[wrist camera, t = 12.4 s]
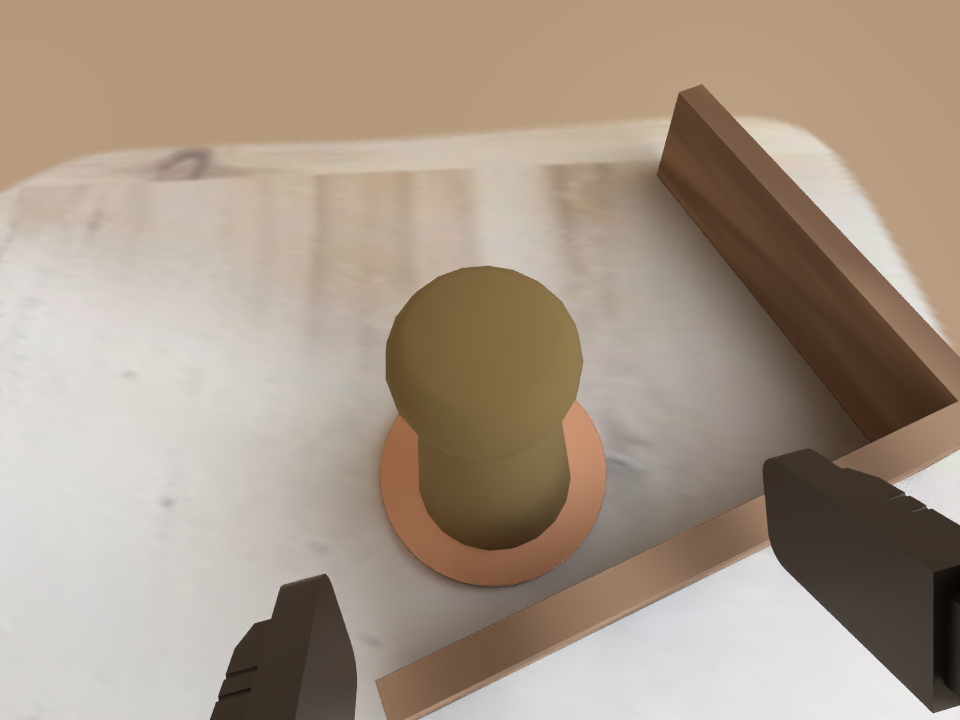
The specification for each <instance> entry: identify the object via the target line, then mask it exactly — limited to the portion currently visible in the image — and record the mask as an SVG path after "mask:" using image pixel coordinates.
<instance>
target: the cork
mask: <svg viewBox="0 0 960 720" xmlns="http://www.w3.org/2000/svg"><path fill="white" fill-rule="evenodd" d="M582 365H583V357H582V352H581V346H580V341H579V335H578V332H577V328H576V325H575V323H574V321H573V320H572V318H571V316H570V315H569V313H568V311H567V309H566V308H565V306H564V304H563V303H562V301H560V300H559V299H558V298H557V297H556V296H555V295H554V294H553V293H551V292H550V291H549V290H548V289H547V288H546V287H545V286H543V285H542V284H541V283H539V282H538V281H536V280H534V279H532V278H530V277H527V276H525V275H523V274H521V273H519V272H517V271H514V270H510V269H504V268H498V267H492V266H481V267H470V268H461V269H459V270H456V271H453V272H450V273H447V274H445V275H442V276H439V277H437V278H436V279H434V280H433V281H431V282H430V283H429V284H427V285H426V286H424V287H423V288H422V289H420V290H419V291H417V292H416V293H415V294H414V295H413V296H412V297H411V298H410V300H409V301H408V302H407V304H406V305H405V306H404V307H403V309H402V310H401V311H400V313H399V314H398V315H397V316H396V318H395V321H394V324H393V326H392V329H391V332H390V335H389V338H388V340H387V345H386V381H387V384H388V386H389V389H390V392H391V394H392V397H393V399H394V402H395V405H396V407H397V409H398V412H399V414H400V415H401V417H402V418H403V419H404V420H405V421H406V422H407V423H408V425H409V426H410V427H411V428H412V429H413V430H414V432H415V433H416V434H417V435H418V463H419V492H420V494H421V497H422V500H423V502H424V505H425V508H426V510H427V513H428V514H429V516H430V517H431V518H432V519H433V520H434V522H435V523H436V524H437V525H438V527H439V528H440V529H441V530H442V531H443V532H444V533H445V534H447V535H449V536H450V537H452V538H454V539H455V540H457V541H458V542H460V543H462V544H463V545H466V546H470V547H475V548H479V549H483V550H487V551H491V550H502V549H513V548H516V547H518V546H520V545H523V544H525V543H527V542H530V541H532V540H534V539H536V538H538V537H539V536H540V535H541V534H542V533H543V532H544V531H545V530H546V529H548V528H549V527H550V526H551V525H552V524H553V523H554V522H555V521H556V519H557V517H558V515H559V514H560V512H561V510H562V508H563V506H564V505H565V503H566V501H567V496H568V490H569V485H570V479H571V476H570V469H569V463H568V456H567V450H566V443H565V437H564V431H563V425H562V421H563V419H564V418H565V416H566V414H567V413H568V411H569V409H570V408H571V406H572V404H573V403H574V401H575V399H576V396H577V392H578V387H579V382H580V376H581V371H582Z"/></svg>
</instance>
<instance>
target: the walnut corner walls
mask: <svg viewBox="0 0 960 720" xmlns="http://www.w3.org/2000/svg"><path fill="white" fill-rule="evenodd" d="M657 175H658V176H659V178H660V179H661V180H662V181H663V183H664V184H665V185H666V186H667V188H668V189H669V190H670V191H671V193H672V194H673V195H674V196H675V198H676V199H677V200H678V201H679V203H680V204H681V205H682V206H683V208H684V209H685V210H686V211H687V213H688V214H689V215H690V216H691V218H692V219H693V220H694V221H695V223H696V224H697V225H698V226H699V228H700V229H701V230H702V231H703V233H704V234H705V235H706V236H707V238H708V239H709V240H710V241H711V243H712V244H713V245H714V246H715V248H716V249H717V250H718V251H719V253H720V254H721V255H722V256H723V258H724V259H725V260H726V261H727V263H728V264H729V265H730V266H731V268H732V269H733V270H734V271H735V273H736V274H737V275H738V276H739V278H740V279H741V280H742V281H743V283H744V284H745V285H746V286H747V288H748V289H749V290H750V291H751V293H752V294H753V295H754V296H755V298H756V299H757V300H758V301H759V303H760V304H761V305H762V306H763V308H764V309H765V310H766V311H767V313H768V314H769V315H770V316H771V318H772V319H773V320H774V321H775V323H776V324H777V325H778V326H779V328H780V329H781V330H782V331H783V333H784V334H785V335H786V336H787V338H788V339H789V340H790V341H791V343H792V344H793V345H794V346H795V348H796V349H797V350H798V351H799V353H800V354H801V355H802V356H803V358H804V359H805V360H806V361H807V363H808V364H809V365H810V366H811V368H812V369H813V370H814V371H815V373H816V374H817V375H818V376H819V378H820V379H821V380H822V381H823V383H824V384H825V385H826V386H827V388H828V389H829V390H830V391H831V393H832V394H833V395H834V396H835V398H836V399H837V400H838V401H839V403H840V404H841V405H842V406H843V408H844V409H845V410H846V411H847V413H848V414H849V415H850V416H851V418H852V419H853V420H854V421H855V423H856V424H857V425H858V426H859V428H860V429H861V430H862V431H863V433H864V434H865V435H866V436H867V438H868V439H869V440H870V441H871V443H870V444H868V445H866V446H864V447H862V448H860V449H858V450H856V451H853V452H851V453H849V454H847V455H845V456H843V457H841V458H839V459H837V460H835V461H833V462H832V463H834V464H836V465H837V466H839V467H840V468H842V469H843V468H850V469H853V470H857V471H860V472H863V473H866V474H870V475H873V476H876V477H879V478H881V479H883V480H884V481H886V482H888V483H889V484H891V485H893V484H895V483H897V482H899V481H901V480H903V479H905V478H907V477H909V476H911V475H913V474H915V473H917V472H919V471H921V470H923V469H925V468H927V467H929V466H931V465H933V464H935V463H936V462H938V461H940V460H942V459H943V458H945V457H947V456H949V455H951V454H952V453H954V452H956V451H958V450H960V357H959V356H958V355H957V354H956V353H955V352H954V351H953V350H952V349H951V348H950V347H949V346H948V344H947V343H946V342H945V341H944V340H943V339H942V338H941V337H940V336H939V335H938V334H937V333H936V332H935V331H934V330H933V329H932V328H931V326H930V325H929V324H928V323H927V322H926V321H925V320H924V319H923V318H922V317H921V316H920V315H919V314H918V313H917V312H916V311H915V309H914V308H913V307H912V306H911V305H910V304H909V303H908V302H907V301H906V300H905V299H904V298H903V297H902V296H901V295H900V294H899V293H898V291H897V290H896V289H895V288H894V287H893V286H892V285H891V284H890V283H889V282H888V281H887V280H886V279H885V278H884V277H883V276H882V275H881V273H880V272H879V271H878V270H877V269H876V268H875V267H874V266H873V265H872V264H871V263H870V262H869V261H868V260H867V259H866V258H865V257H864V255H863V254H862V253H861V252H860V251H859V250H858V249H857V248H856V247H855V246H854V245H853V244H852V243H851V242H850V241H849V240H848V238H847V237H846V236H845V235H844V234H843V233H842V232H841V231H840V230H839V229H838V228H837V227H836V226H835V225H834V224H833V223H832V222H831V220H830V219H829V218H828V217H827V216H826V215H825V214H824V213H823V212H822V211H821V210H820V209H819V208H818V207H817V206H816V205H815V204H814V202H813V201H812V200H811V199H810V198H809V197H808V196H807V195H806V194H805V193H804V192H803V191H802V190H801V189H800V188H799V187H798V185H797V184H796V183H795V182H794V181H793V180H792V179H791V178H790V177H789V176H788V175H787V174H786V173H785V172H784V171H783V170H782V169H781V167H780V166H779V165H778V164H777V163H776V162H775V161H774V160H773V159H772V158H771V157H770V156H769V155H768V154H767V153H766V152H765V151H764V149H763V148H762V147H761V146H760V145H759V144H758V143H757V142H756V141H755V140H754V139H753V138H752V137H751V136H750V135H749V134H748V133H747V131H746V130H745V129H744V128H743V127H742V126H741V125H740V124H739V123H738V122H737V121H736V120H735V119H734V118H733V117H732V116H731V114H730V113H729V112H728V111H727V110H726V109H725V108H724V107H723V106H722V105H721V104H720V103H719V102H718V101H717V100H716V99H715V98H714V96H712V94H711V93H710V92H709V91H708V90H707V89H706V88H705V87H704V86H703V85H702V84H701V85H699V86H696V87H693V88H690V89H687V90H685V91H682V92H679V94H678V98H677V102H676V105H675V109H674V113H673V117H672V120H671V124H670V128H669V132H668V135H667V139H666V143H665V147H664V150H663V154H662V158H661V161H660V165H659V169H658V173H657ZM770 545H771V544H770V540H769V536H768V527H767V516H766V504H765V494H764V495H762V496H760V497H757V498H755V499H753V500H751V501H749V502H747V503H745V504H743V505H741V506H739V507H737V508H735V509H732V510H730V511H728V512H726V513H724V514H722V515H720V516H718V517H716V518H714V519H712V520H710V521H707V522H705V523H703V524H701V525H699V526H697V527H695V528H693V529H691V530H689V531H687V532H684V533H682V534H680V535H678V536H676V537H674V538H672V539H670V540H668V541H666V542H664V543H662V544H659V545H657V546H655V547H653V548H651V549H649V550H647V551H645V552H643V553H641V554H639V555H637V556H634V557H632V558H630V559H628V560H626V561H624V562H622V563H620V564H618V565H616V566H614V567H611V568H609V569H607V570H605V571H603V572H601V573H599V574H597V575H595V576H593V577H591V578H589V579H586V580H584V581H582V582H580V583H578V584H576V585H574V586H572V587H570V588H568V589H566V590H564V591H561V592H559V593H557V594H555V595H553V596H551V597H549V598H547V599H545V600H543V601H541V602H538V603H536V604H534V605H532V606H530V607H528V608H526V609H524V610H522V611H520V612H518V613H516V614H513V615H511V616H509V617H507V618H505V619H503V620H501V621H499V622H497V623H495V624H493V625H491V626H488V627H486V628H484V629H482V630H480V631H478V632H476V633H474V634H472V635H470V636H468V637H465V638H463V639H461V640H459V641H457V642H455V643H453V644H451V645H449V646H447V647H445V648H443V649H440V650H438V651H436V652H434V653H432V654H430V655H428V656H426V657H424V658H422V659H420V660H418V661H415V662H413V663H411V664H409V665H407V666H405V667H403V668H401V669H399V670H397V671H395V672H392V673H390V674H388V675H386V676H384V677H382V678H380V679H378V680H376V681H375V682H376V685H377V688H378V691H379V695H380V698H381V701H382V704H383V707H384V711H385V714H386V717H387V720H418V719H420V718H422V717H424V716H426V715H428V714H430V713H432V712H434V711H436V710H438V709H440V708H442V707H444V706H446V705H448V704H450V703H452V702H454V701H456V700H458V699H460V698H462V697H465V696H467V695H469V694H471V693H473V692H475V691H477V690H479V689H481V688H483V687H485V686H487V685H489V684H491V683H493V682H495V681H497V680H499V679H501V678H503V677H505V676H507V675H509V674H511V673H513V672H515V671H517V670H519V669H521V668H523V667H525V666H527V665H529V664H531V663H533V662H535V661H537V660H539V659H541V658H543V657H545V656H547V655H549V654H551V653H553V652H555V651H558V650H560V649H562V648H564V647H566V646H568V645H570V644H572V643H574V642H576V641H578V640H580V639H582V638H584V637H586V636H588V635H590V634H592V633H594V632H596V631H598V630H600V629H602V628H604V627H606V626H608V625H610V624H612V623H614V622H616V621H618V620H620V619H622V618H624V617H626V616H628V615H630V614H632V613H634V612H636V611H638V610H640V609H642V608H644V607H646V606H648V605H651V604H653V603H655V602H657V601H659V600H661V599H663V598H665V597H667V596H669V595H671V594H673V593H675V592H677V591H679V590H681V589H683V588H685V587H687V586H689V585H691V584H693V583H695V582H697V581H699V580H701V579H703V578H705V577H707V576H709V575H711V574H713V573H715V572H717V571H719V570H721V569H723V568H725V567H727V566H729V565H731V564H733V563H735V562H737V561H739V560H741V559H744V558H746V557H748V556H750V555H752V554H754V553H756V552H758V551H760V550H762V549H764V548H766V547H768V546H770Z"/></svg>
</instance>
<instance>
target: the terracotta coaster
mask: <svg viewBox="0 0 960 720" xmlns="http://www.w3.org/2000/svg"><path fill="white" fill-rule="evenodd" d="M562 425H563V431H564V437H565V443H566V450H567V456H568V463H569V469H570V476H571V479H570V485H569V490H568V496H567V501H566V503H565V505H564V506H563V508H562V510H561V512H560V514H559V515H558V517H557V519H556V521H555V522H554V523H553V524H552V525H551V526H550V527H549V528H548V529H546V530H545V531H544V532H543V533H542V534H541V535H540V536H539V537H538V538H536V539H534V540H532V541H530V542H527V543H525V544H523V545H520V546H518V547H516V548H513V549H502V550H491V551H487V550H483V549H479V548H475V547H470V546H466V545H463V544H462V543H460V542H458V541H457V540H455V539H454V538H452V537H450V536H449V535H447V534H445V533H444V532H443V531H442V530H441V529H440V528H439V527H438V525H437V524H436V523H435V522H434V520H433V519H432V518H431V517H430V516H429V514H428V513H427V510H426V508H425V505H424V502H423V500H422V497H421V494H420V492H419V463H418V435H417V434H416V433H415V432H414V430H413V429H412V428H411V427H410V426H409V425H408V423H407V422H406V421H405V420H404V419H403V418H402V417H401V415H399V416H398V418H397V419H396V421H395V423H394V425H393V426H392V428H391V430H390V433H389V435H388V438H387V440H386V442H385V446H384V450H383V454H382V460H381V467H380V485H381V492H382V499H383V502H384V506H385V509H386V512H387V515H388V517H389V519H390V521H391V524H392V526H393V527H394V529H395V531H396V532H397V534H398V535H399V537H400V538H401V540H402V541H403V542H404V544H405V545H406V546H407V547H408V548H409V550H410V551H411V552H412V553H413V554H414V555H415V556H416V557H417V558H419V559H420V560H421V561H422V562H423V563H424V564H426V565H427V566H429V567H430V568H432V569H433V570H435V571H436V572H438V573H440V574H442V575H445V576H447V577H449V578H451V579H454V580H457V581H460V582H463V583H467V584H473V585H478V586H506V585H514V584H518V583H522V582H526V581H529V580H532V579H534V578H537V577H539V576H542V575H544V574H546V573H547V572H549V571H551V570H553V569H554V568H556V567H557V566H559V565H560V564H561V563H563V562H564V561H565V560H567V559H568V558H569V557H570V556H571V555H572V554H573V553H574V552H575V551H576V550H577V549H578V548H579V547H580V545H581V544H582V543H583V541H584V540H585V539H586V537H587V536H588V534H589V533H590V531H591V529H592V527H593V525H594V523H595V521H596V519H597V517H598V514H599V511H600V509H601V506H602V502H603V498H604V494H605V487H606V461H605V455H604V450H603V446H602V443H601V440H600V437H599V434H598V432H597V430H596V428H595V426H594V424H593V422H592V420H591V419H590V417H589V416H588V414H587V413H586V411H585V410H584V409H583V408H582V406H581V405H580V404H579V403H578V402H577V401H576V400H575V401H574V403H573V404H572V406H571V408H570V409H569V411H568V413H567V414H566V416H565V418H564V419H563V421H562Z"/></svg>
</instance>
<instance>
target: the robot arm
mask: <svg viewBox="0 0 960 720" xmlns="http://www.w3.org/2000/svg"><path fill="white" fill-rule="evenodd" d="M763 481H764V492H765V504H766V516H767V527H768V536H769V540H770V544H771V546H772V549H773V551H774V553H775V555H776V557H777V559H778V561H779V562H780V564H781V565H782V566H783V567H784V569H785V570H786V571H787V572H788V573H789V574H790V575H791V576H793V577H794V578H795V579H796V580H797V581H798V582H799V583H800V584H801V585H802V586H803V587H804V588H805V589H806V590H807V591H808V592H809V593H810V594H811V595H812V596H813V597H814V598H815V599H816V600H817V601H818V602H819V603H820V604H821V605H822V606H823V607H824V608H825V609H826V610H827V611H828V612H830V613H831V614H832V615H833V616H834V617H835V618H836V619H837V620H838V621H839V622H840V623H841V624H842V625H843V626H844V627H845V628H846V629H847V630H848V631H849V632H850V633H851V634H852V635H853V636H854V637H855V638H856V639H857V640H858V641H859V642H860V643H861V644H862V645H863V646H864V647H865V648H867V649H868V650H869V651H870V652H871V653H872V654H873V655H874V656H875V657H876V658H877V659H878V660H879V661H880V662H881V663H882V664H883V665H884V666H885V667H886V668H887V669H888V670H889V671H890V672H891V673H892V674H893V675H894V676H895V677H896V678H897V679H898V680H899V681H900V682H901V683H903V684H904V685H905V686H906V687H907V688H908V689H909V690H910V691H911V692H912V693H913V694H914V695H915V696H916V697H917V698H918V699H919V700H920V701H921V702H922V703H923V704H924V705H925V706H926V707H927V708H928V709H929V710H930V711H931V712H932V713H936V712H939V711H942V710H946V709H949V708H952V707H956V706H959V705H960V525H958V524H957V523H955V522H953V521H952V520H950V519H948V518H947V517H945V516H943V515H942V514H940V513H938V512H937V511H935V510H933V509H929V510H928V509H927V507H926V505H925V504H923V503H921V502H920V501H918V500H916V499H915V498H913V497H911V496H906V495H905V492H903V491H901V490H900V489H898V488H896V487H894V486H893V485H891V484H889V483H888V482H886V481H884V480H883V479H881V478H879V477H876V476H873V475H870V474H866V473H863V472H860V471H857V470H853V469H850V468H843V469H842V468H840V467H839V466H837V465H836V464H834V463H832V462H831V461H829V460H828V459H826V458H824V457H823V456H821V455H820V454H818V453H816V452H815V451H813V450H810V449H804V450H800V451H797V452H793V453H789V454H785V455H781V456H777V457H774V458H770V459H767V460H766V461H765V463H764V465H763ZM356 690H357V672H356V663H355V657H354V652H353V648H352V645H351V642H350V639H349V636H348V632H347V629H346V626H345V623H344V620H343V617H342V614H341V611H340V608H339V605H338V602H337V599H336V596H335V593H334V590H333V587H332V584H331V582H330V579H329V578H328V576H327V575H326V574H322V575H318V576H315V577H311V578H307V579H303V580H299V581H295V582H292V583H288V584H284V585H282V586H281V588H280V590H279V593H278V597H277V600H276V604H275V607H274V611H273V614H272V618H271V619H269V620H265V621H262V622H258V623H255V624H254V625H253V626H252V627H251V629H250V630H249V631H248V632H247V634H246V635H245V636H244V637H243V639H242V640H241V641H240V643H239V644H238V645H237V646H236V648H235V649H234V652H233V655H232V658H231V661H230V664H229V666H228V669H227V672H226V679H225V680H224V681H223V684H222V687H221V690H220V692H219V695H218V698H219V701H218V702H216V704H215V707H214V710H213V713H212V716H211V718H210V720H354V717H355V704H356Z"/></svg>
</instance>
